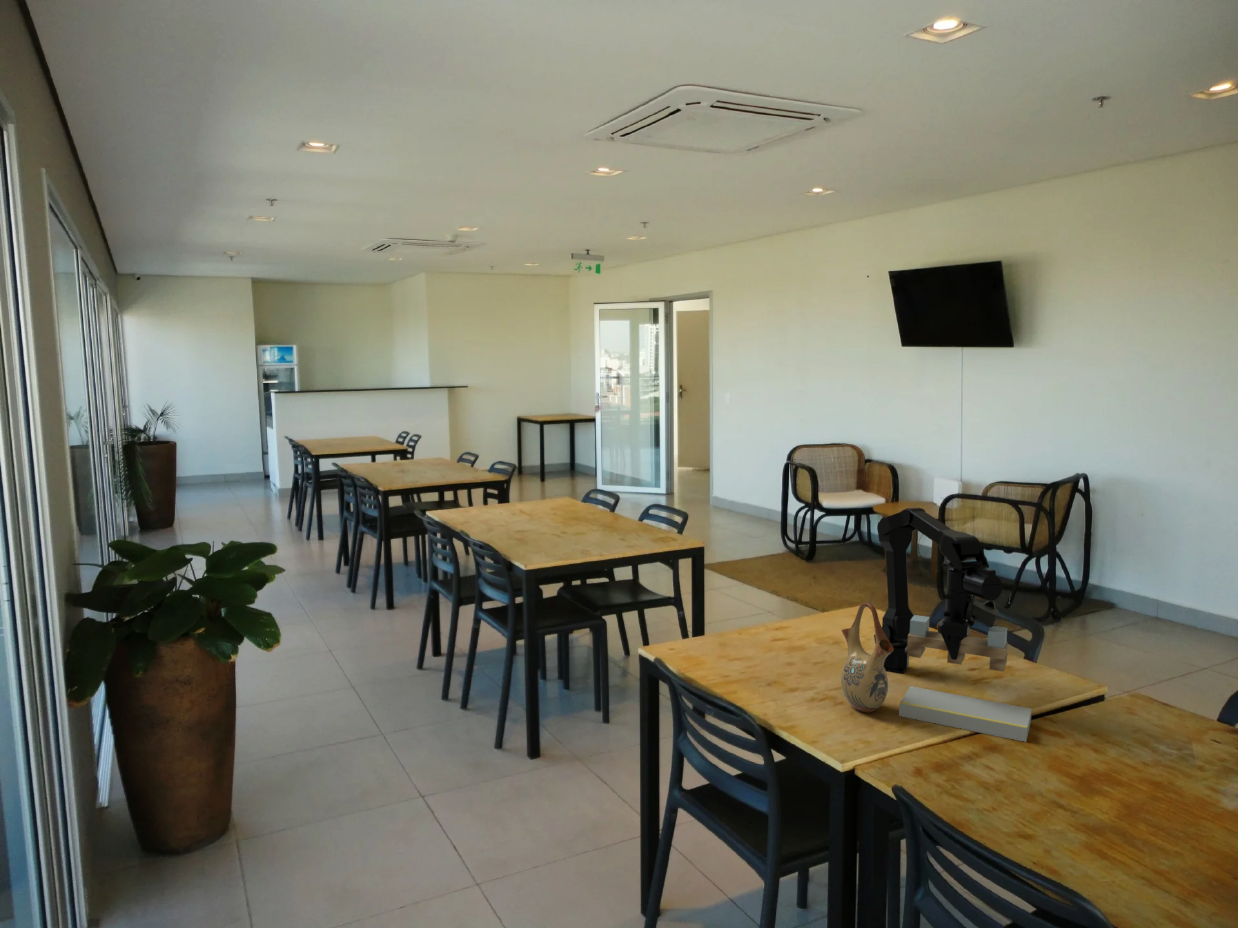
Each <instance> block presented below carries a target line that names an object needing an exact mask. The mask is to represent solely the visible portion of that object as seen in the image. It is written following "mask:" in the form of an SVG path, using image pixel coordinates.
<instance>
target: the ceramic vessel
mask: <svg viewBox="0 0 1238 928" xmlns="http://www.w3.org/2000/svg"><path fill="white" fill-rule="evenodd" d="M865 608H868V609H869V610H870V612H871V616H872V618H873V619H872V620H873V625H874V635H875V637H876V644H875V645H874V646H875V647H874V650H873V652H872V654H869V653H868V652H867V651H866V650H865V649H864V647H863V645H862V642H861V639H860V629H861V628H860V626H861V620H862V616H863V613H864V610H865ZM879 619H880V618H879V615H878V612H877V609H876V607H875V606H874V604H872V603H871V602H868V601H867V602H862V603H861V604H860V606H859V607H858V609H857V613H856V615H855V619H854V620H853V623H852V625H851V626H850V627H848V628H843V629H841V633H842V635H843V636H844V638H845V642H846V644H847V656H846V659H845V662H844V664H843V665H842V670H841V674H840V675H841V677H840V678H841V681H840V682H841V689H842V691H843V694H844V697H845V699H846V700H847V702H848V703H849V704H850V705H851V707H853V708H854V709H856V710H857V711H860V712H862V713H874V712H875V711H876V710H878V709H880V707H881V706H882V705H883V704H884V703H885V701H886V699H887V696H888V692H889V678H888V674H887V670H885V668H884V661H885V659H886V657H887V656H888V655H889V654H890V653H891V652H893V650H894V648H893V646H892V645H891V643H890V642H889V640H888V638H887V637H886V635H885V633H884V631H883V629H882V624H881V622H880V620H879Z"/></svg>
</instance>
